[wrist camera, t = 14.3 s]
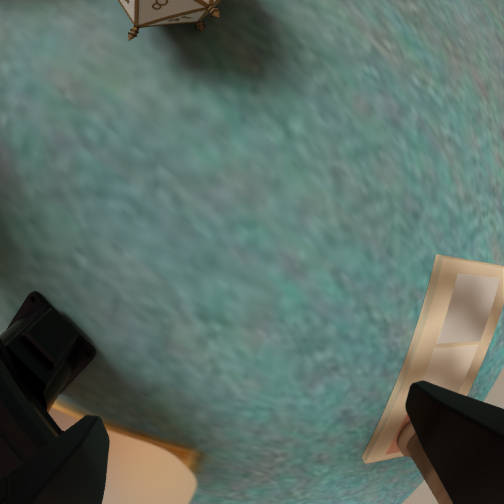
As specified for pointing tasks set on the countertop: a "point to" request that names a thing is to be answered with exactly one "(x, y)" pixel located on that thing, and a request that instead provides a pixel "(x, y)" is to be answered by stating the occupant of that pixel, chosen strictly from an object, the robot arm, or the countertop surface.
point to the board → (444, 341)
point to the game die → (168, 12)
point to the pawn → (421, 462)
